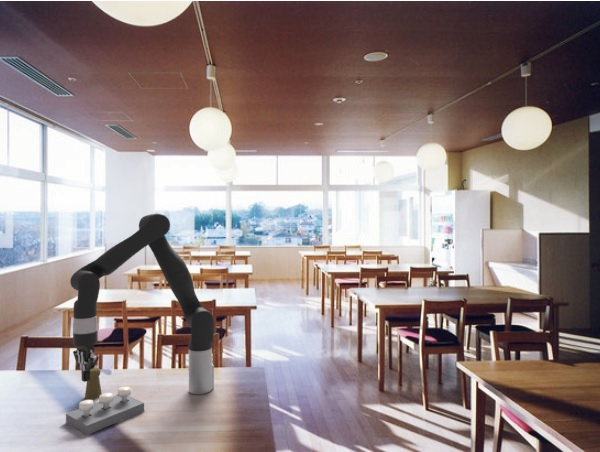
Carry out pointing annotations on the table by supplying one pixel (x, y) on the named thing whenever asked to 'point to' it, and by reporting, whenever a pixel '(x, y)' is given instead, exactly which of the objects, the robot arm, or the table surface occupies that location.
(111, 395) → the knob middle
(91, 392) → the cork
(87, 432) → the control board
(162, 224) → the robot arm
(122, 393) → the knob
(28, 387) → the table surface
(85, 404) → the knob
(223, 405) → the table surface
